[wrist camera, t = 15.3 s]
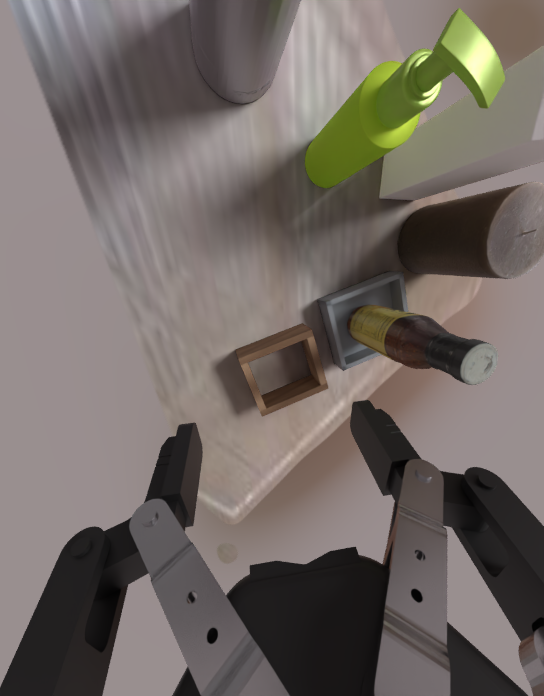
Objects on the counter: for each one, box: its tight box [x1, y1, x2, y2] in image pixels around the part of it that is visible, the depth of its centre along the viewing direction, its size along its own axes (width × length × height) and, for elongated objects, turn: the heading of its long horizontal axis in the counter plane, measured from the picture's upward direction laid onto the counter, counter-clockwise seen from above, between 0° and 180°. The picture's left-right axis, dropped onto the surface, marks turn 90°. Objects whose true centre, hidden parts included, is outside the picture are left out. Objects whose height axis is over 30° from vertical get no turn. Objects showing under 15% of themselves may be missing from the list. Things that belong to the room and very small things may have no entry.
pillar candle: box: [398, 182, 544, 279], centre depth 33 cm, size 10×10×15 cm
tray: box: [318, 271, 408, 371], centre depth 41 cm, size 11×12×3 cm
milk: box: [379, 46, 544, 200], centre depth 26 cm, size 6×6×22 cm
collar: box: [236, 323, 328, 416], centre depth 39 cm, size 10×11×4 cm
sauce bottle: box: [347, 305, 498, 385], centre depth 32 cm, size 6×6×20 cm
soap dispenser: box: [305, 8, 505, 188], centre depth 25 cm, size 6×7×20 cm
